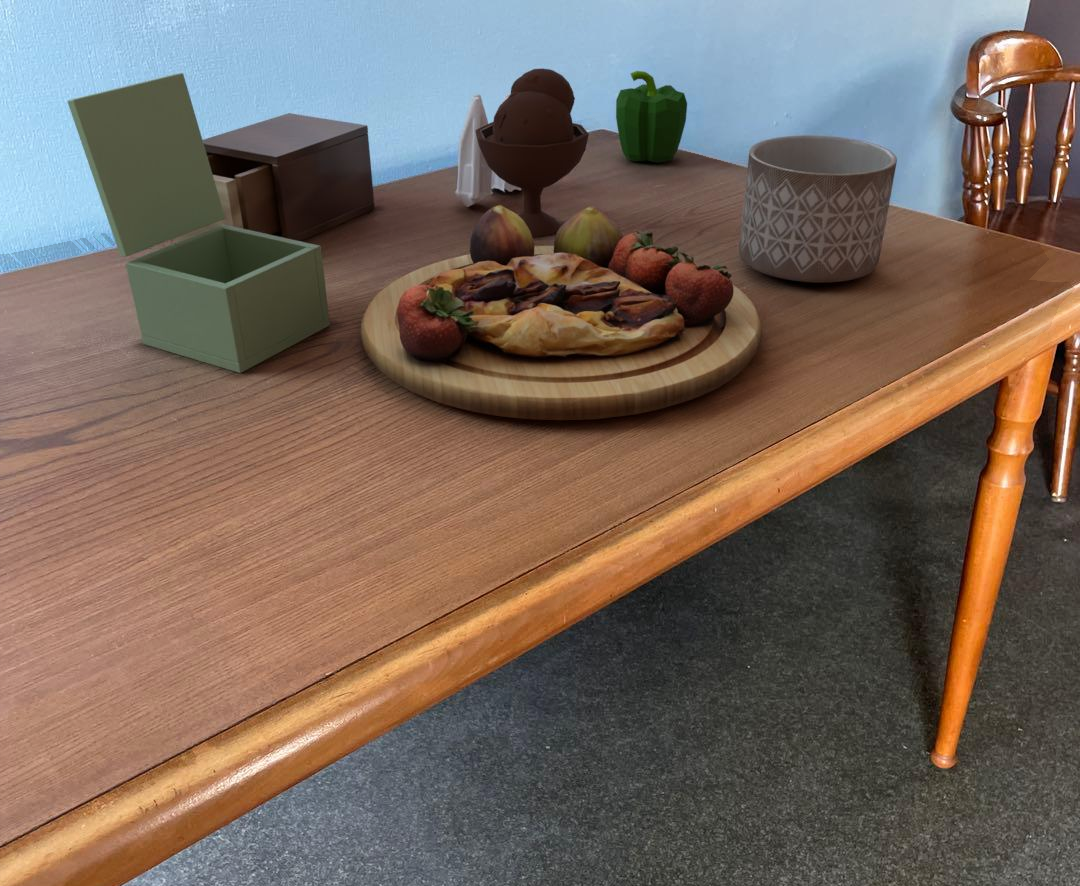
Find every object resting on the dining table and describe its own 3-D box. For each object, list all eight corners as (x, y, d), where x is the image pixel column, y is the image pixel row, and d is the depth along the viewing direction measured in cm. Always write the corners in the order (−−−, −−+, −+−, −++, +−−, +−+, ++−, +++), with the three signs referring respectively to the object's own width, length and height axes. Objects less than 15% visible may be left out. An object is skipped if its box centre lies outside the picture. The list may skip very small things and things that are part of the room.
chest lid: (183, 72, 86) (146, 77, 88) (73, 99, 78) (36, 103, 80) (225, 218, 91) (190, 219, 93) (126, 256, 84) (90, 256, 86)
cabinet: (289, 246, 107) (276, 156, 102) (210, 228, 111) (194, 141, 106) (375, 208, 116) (367, 125, 111) (299, 193, 121) (289, 112, 116)
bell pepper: (687, 151, 134) (694, 65, 129) (679, 170, 128) (685, 79, 122) (620, 147, 136) (623, 61, 130) (608, 165, 130) (611, 76, 124)
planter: (905, 279, 99) (928, 162, 93) (792, 303, 94) (809, 182, 88) (818, 237, 108) (833, 129, 102) (711, 257, 104) (721, 145, 98)
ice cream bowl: (487, 209, 116) (483, 58, 108) (591, 213, 115) (595, 61, 106) (468, 242, 107) (462, 81, 99) (581, 247, 106) (584, 84, 98)
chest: (330, 325, 91) (320, 245, 87) (240, 373, 83) (225, 288, 79) (236, 300, 95) (223, 223, 91) (143, 344, 88) (124, 262, 84)
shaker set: (478, 217, 114) (474, 106, 108) (444, 211, 116) (438, 101, 109) (533, 186, 123) (532, 82, 116) (501, 181, 124) (498, 78, 118)
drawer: (205, 269, 99) (191, 194, 95) (133, 251, 103) (117, 178, 99) (325, 218, 111) (317, 150, 107) (256, 204, 115) (246, 137, 111)
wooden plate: (448, 470, 71) (441, 354, 67) (315, 301, 95) (303, 207, 90) (842, 376, 82) (860, 271, 78) (635, 246, 106) (639, 160, 102)
